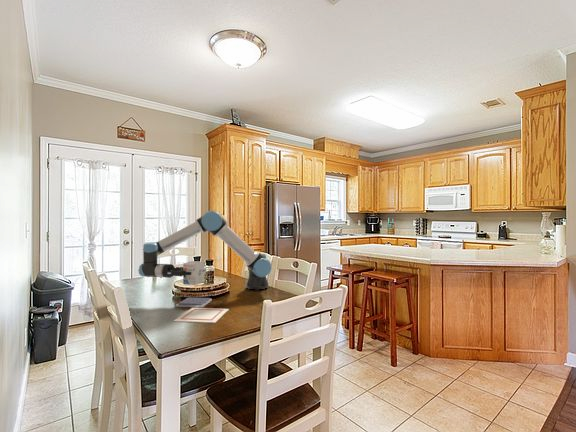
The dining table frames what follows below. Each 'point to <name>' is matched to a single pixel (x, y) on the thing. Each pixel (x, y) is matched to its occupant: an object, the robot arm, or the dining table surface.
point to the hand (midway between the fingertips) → (201, 271)
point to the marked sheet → (202, 315)
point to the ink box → (194, 267)
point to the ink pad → (194, 302)
